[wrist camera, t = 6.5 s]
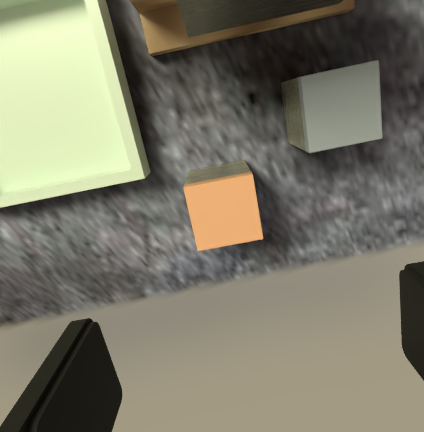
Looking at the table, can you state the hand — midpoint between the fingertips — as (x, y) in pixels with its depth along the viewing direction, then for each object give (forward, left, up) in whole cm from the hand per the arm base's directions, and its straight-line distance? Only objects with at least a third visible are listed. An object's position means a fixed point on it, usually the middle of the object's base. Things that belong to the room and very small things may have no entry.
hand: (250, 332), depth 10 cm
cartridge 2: (+8, +5, -18) cm, 20 cm away
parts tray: (-12, +10, -18) cm, 24 cm away
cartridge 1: (0, 0, -18) cm, 18 cm away
